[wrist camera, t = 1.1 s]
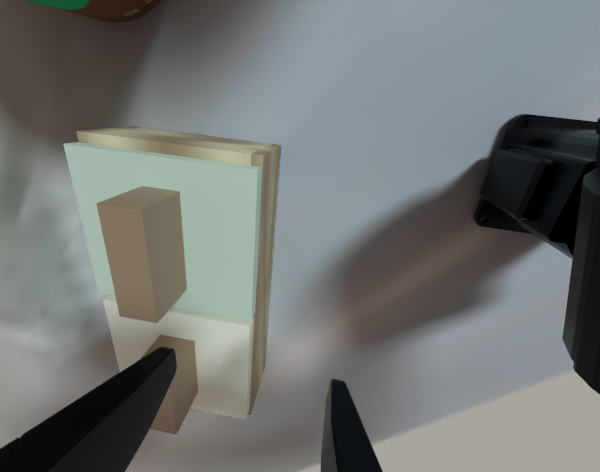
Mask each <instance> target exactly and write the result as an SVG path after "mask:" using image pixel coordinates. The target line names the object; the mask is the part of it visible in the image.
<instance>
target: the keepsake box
mask: <svg viewBox="0 0 600 472" xmlns="http://www.w3.org/2000/svg"><path fill="white" fill-rule="evenodd" d="M76 133H77V137H78V142H80V143H87V144H95V145H102V146H109V147H117V148H124V149H132V150H139V151H146V152H154V153H161V154H169V155H176V156H184V157H191V158H198V159H206V160H213V161H221V162H228V163H235V164H243V165H250V166H258V167H262V179H261V200H260V220H259V241H258V262H257V283H256V304H255V314H254V317H253V318H254V322H253V343H252V365H251V387H250V409H249V413H248V414H249V415H251V411H252V408H253V405H254V401H255V398H256V395H257V391H258V388H259V385H260V382H261V378H262V375H263V372H264V368H265V357H266V343H267V330H268V316H269V302H270V289H271V275H272V262H273V248H274V235H275V221H276V208H277V194H278V180H279V167H280V153H281V145H274V144H267V143H259V142H251V141H243V140H235V139H228V138H220V137H212V136H204V135H196V134H188V133H181V132H173V131H165V130H157V129H149V128H142V127H121V128H108V129H95V130H82V131H76Z"/></svg>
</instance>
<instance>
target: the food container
mask: <svg viewBox="0 0 600 472" xmlns="http://www.w3.org/2000/svg"><path fill="white" fill-rule="evenodd" d="M27 1H31V2H34V3H38V4H42V5H46V6H50V7H53V8H57V9H61V10H65V11H69V12H73V13H76V14H80V15H84V16H88V17H92V18H95V19H99V20H103V21H109V22H126V21H131V20H134V19H137V18H140V17H142V16H143V15H145V14H147V13H148V12H150V11H151V10H152V9H153V8H155V7H156V6H157V5H158V4H159V3H160V2H161V0H27Z"/></svg>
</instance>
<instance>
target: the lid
mask: <svg viewBox="0 0 600 472" xmlns="http://www.w3.org/2000/svg"><path fill="white" fill-rule="evenodd" d="M103 302H104V307H105V311H106V315H107V320H108V324H109V328H110V333H111V337H112V341H113V346H114V350H115V354H116V358H117V363H118V367H119V371H120V372H121V371H123V370H124V369H126V368H127V367H129V366H131V365H132V364H134V363H135V362H137V361H138V360H140V359H141V358H143V357H145V356H146V355H148V354H149V353H151V352H152V351H154V350H156V349H157V348H159V347H161V346H166V347H171V348H174V349H175V352H176V362H177V370H176V374H175V376H174V378H173V380H172V382H171V385H170V387H169V389H168V391H167V393H166V395H165V398H164V400H163V402H162V404H161V406H160V408H159V411H158V413H157V415H156V417H155V419H154V421H153V423H152V425H151V427H150V429H154V430H159V431H163V432H168V433H172V434H177V432H178V430H179V428H180V426H181V424H182V422H183V420H184V418H185V417H186V415H187V413H188V411H189V409H190V408H191V409H195V410H200V411H205V412H210V413H214V414H219V415H224V416H229V417H233V418H238V419H243V420H246V419H247V416H248V413H249V409H250V387H251V365H252V343H253V322H254V318H253V319H252V321H246V320H240V319H234V318H229V317H223V316H218V315H212V314H207V313H201V312H196V311H190V310H185V309H179V308H174V307H171V308H170V309H169V310H168V311H167V312H166V314H165V315H164V316H163V317H162V318H161V319H160V320H159V322H158V323H153V322H148V321H142V320H137V319H131V318H126V317H121V316H119V311H118V306H117V301H116V297H113V296H107V297H106V298H104V299H103Z"/></svg>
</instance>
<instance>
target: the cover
mask: <svg viewBox="0 0 600 472" xmlns="http://www.w3.org/2000/svg"><path fill="white" fill-rule="evenodd" d="M63 145H64V149H65V153H66V157H67V162H68V166H69V170H70V174H71V179H72V183H73V187H74V191H75V196H76V200H77V204H78V208H79V212H80V217H81V221H82V225H83V229H84V234H85V238H86V242H87V246H88V251H89V255H90V259H91V263H92V267H93V272H94V276H95V280H96V284H97V289H98V293H99V294H102V295H107V296H113V297H116V301H117V306H118V311H119V316H121V317H126V318H131V319H137V320H142V321H148V322H153V323H158V322H159V320H160V319H161V318H162V317H163V316H164V315H165V314H166V312H167V311H168V310H169V309H170V308H171V307H174V308H179V309H185V310H190V311H196V312H201V313H207V314H212V315H218V316H223V317H229V318H234V319H240V320H246V321H252V319H253V317H254V314H255V304H256V283H257V262H258V241H259V220H260V200H261V179H262V167H258V166H250V165H243V164H235V163H228V162H221V161H213V160H206V159H198V158H191V157H184V156H176V155H169V154H161V153H154V152H146V151H139V150H132V149H124V148H117V147H109V146H102V145H95V144H87V143H80V142H74V143H65V144H63Z"/></svg>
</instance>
